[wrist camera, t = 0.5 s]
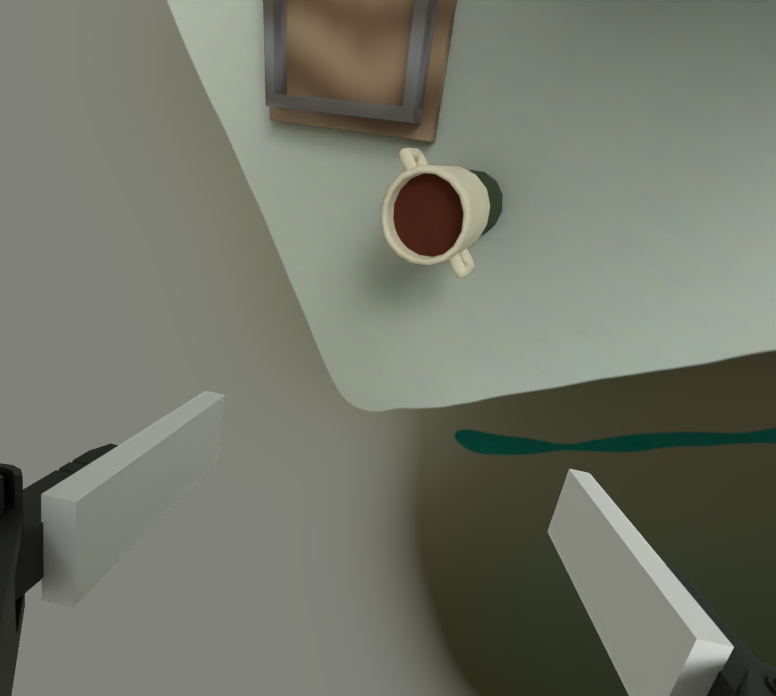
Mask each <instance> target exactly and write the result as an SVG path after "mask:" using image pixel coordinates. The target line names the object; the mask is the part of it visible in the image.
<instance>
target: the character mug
mask: <svg viewBox="0 0 776 696" xmlns="http://www.w3.org/2000/svg"><path fill="white" fill-rule="evenodd" d="M399 158H400V161H401V163H402V165H403V168H404V170H405V171H404V172H402V173H401V174H400V175H399V176H398V177H397V178H396V179H395V180H394V181H393V183H392V184H391V185H390V186H389V187H388V190H387V192H386V195H385V197H384V200H383V202H382V208H381V226H382V231H383V234H384V237H385V240H386V242H387V243H388V245H389V246H390V248H391V249H392V250H393V251H394V252H395V253H396V254H397V255H398V256H399V257H401V258H403V259H405V260H406V261H408V262H410V263H412V264H419V265H426V266H429V265H433V264H437V263H441V262H445V261H447V260H448V262H449V264H450V266H451V268H452V270H453V272H454V274H455V275H456V277H457V278H465V277H466V276H468V275H469V274H470V273H472V271H473V270H474V268H475V265H474V262H473V259H472V257H471V255H470V253H469V251H468V249H467V248H468V247H470V246H471V245H472V244H473V243H475V242H476V241H477V240H478V239H479V237H480V236H481V235H484V234H485V233H486V232H487V231H488V230H490V229H491V228H492V227H493V226H494V225H495V224H496V222H497V220H498V218H499V216H500V214H501V212H502V193H501V191H500V189H499V186H498V184H497V182H496V181H495V180H494V179H493V178H491V177H490V176H489V175H487V174H486V173H485V172H480V171H473V170H466V169H464V168H463V167H461V166H445V165H428V163H427V161H426V159H425V157H424V155H423V153H422V152H421V151H420V150H419V149H417V148H408V147H407V148H402V149H401V150H400V152H399Z"/></svg>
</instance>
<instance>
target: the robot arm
mask: <svg viewBox="0 0 776 696" xmlns="http://www.w3.org/2000/svg"><path fill="white" fill-rule="evenodd" d="M224 402H225V395H223V394H218V393H213V392H209V391H205V392H203V393H201V394H200V395H198V396H196V397H195V398H193V399H192V400H190V401H189V402H187V403H185V404H184V405H182V406H181V407H179V408H178V409H176V410H174V411H173V412H171V413H169V414H168V415H166V416H165V417H163V418H162V419H160V420H158V421H157V422H155V423H154V424H152V425H150V426H149V427H147V428H146V429H144V430H143V431H141V432H139V433H138V434H136V435H134V436H133V437H131V438H130V439H128V440H127V441H125V442H123V443H122V444H120V445H119V446H118V445H114V444H108V445H105V446H102V447H99V448H96V449H93V450H90V451H88V452H86V453H85V454H83V455H81V456H80V457H78V458H76V459H74V460H73V462H72V463H71V462H69V463H68V464H66V465H64V466H62V467H61V468H59V470H58V471H54V472H52V473H51V474H49V475H47V476H45V477H44V478H42V479H40V480H39V481H37V482H35V483H34V484H32V485H30V486H29V487H27V488H25V489H23V486H22V485H23V480H22V472H21V469H19V468H17V467H15V466H13V465H7V464H0V696H11V694H12V688H13V681H14V674H15V667H16V661H17V654H18V648H19V641H20V634H21V627H22V620H23V614H24V607H25V593H26V592H27V591H28V590H29V589H30V588H31V587H33V586H34V585H35V584H36V583H37V582H39V581H40V580H41V579H42V600H44V601H48V602H53V603H57V604H62V605H66V606H71V607H75V606H76V605H77V604H78V603H79V602H80V601H81V600H82V599H83V598H84V597H85V596H86V595H87V594H88V593H89V592H90V591H91V590H92V589H93V588H94V587H95V586H96V585H97V584H98V583H99V582H100V581H101V580H102V579H103V578H104V577H105V576H106V575H107V574H108V573H109V572H110V571H111V570H112V568H113V567H114V566H115V565H116V564H117V563H118V562H119V561H120V560H121V559H122V558H123V557H124V556H125V555H126V554H127V553H128V552H129V551H130V550H131V549H132V548H133V547H134V546H135V545H136V544H137V543H138V542H139V541H140V540H141V539H142V538H143V537H144V536H145V535H146V534H147V533H148V532H149V531H150V529H151V528H152V527H153V526H154V525H155V524H156V523H157V522H158V521H159V520H160V519H161V518H162V517H163V516H164V515H165V514H166V513H167V512H168V511H169V510H170V509H171V508H172V507H173V506H174V505H175V504H176V503H177V502H178V501H179V500H180V499H181V498H182V497H183V495H185V494H186V493H187V491H189V489H190V488H191V487H192V486H193V485H194V484H195V483H196V482H197V481H198V480H199V479H200V478H201V477H202V476H203V475H204V474H205V473H206V472H207V471H208V470H209V469H210V468H211V467H212V466H213V465H214V464H215V463H216V462H217V461H218V456H219V447H220V438H221V429H222V420H223V411H224ZM548 533H549V535H550V538H551V539H552V541H553V544H554V546H555V548H556V550H557V552H558V554H559V556H560V558H561V560H562V562H563V564H564V566H565V568H566V570H567V572H568V574H569V576H570V578H571V580H572V582H573V584H574V586H575V588H576V590H577V592H578V593H579V596H580V598H581V600H582V602H583V604H584V606H585V608H586V610H587V612H588V614H589V616H590V618H591V620H592V622H593V624H594V626H595V628H596V630H597V632H598V634H599V636H600V638H601V640H602V642H603V644H604V646H605V648H606V650H607V652H608V654H609V656H610V658H611V660H612V662H613V664H614V666H615V668H616V670H617V672H618V674H619V676H620V678H621V680H622V682H623V684H624V686H625V688H626V690H627V692H628V694H629V696H776V668H775V667H774V666H771V665H768V664H765V663H762V662H759V661H758V660H757V659H756V657H755V656H754V655H753V654H752V653H751V651H750V650H749V649H748V648H747V647H746V646H745V645H744V643H743V642H742V641H741V640H740V639H739V638H738V636H737V635H736V634H735V633H734V632H733V631H732V630H731V628H730V627H729V626H728V625H727V624H726V623H725V621H724V620H723V619H722V618H721V617H720V616H719V614H716V613H715V610H714V609H713V607H712V606H711V605H710V604H709V603H708V602H707V601H706V600H704V599H703V596H702V595H701V594H700V593H699V591H698V590H697V589H696V588H695V587H694V586H693V584H692V583H691V582H690V581H689V580H688V579H687V578H686V577H684V576H683V575H682V574H680V573H679V572H678V571H677V570H676V569H675V568H673V567H672V566H671V565H670V564H666V563H664V562H663V561H662V560H661V558H660V557H659V556H658V555H657V554H656V552H655V551H654V550H653V549H652V548H651V546H650V545H649V544H648V543H647V542H646V540H645V539H644V538H643V537H642V536H641V534H640V533H639V532H638V531H637V530H636V528H635V527H634V526H633V525H632V524H631V522H630V521H629V520H628V519H627V518H626V516H625V515H624V514H623V513H622V512H621V510H620V509H619V508H618V507H617V506H616V505H615V503H614V502H613V501H612V500H611V498H610V497H609V496H608V495H607V494H606V492H605V491H604V490H603V489H602V488H601V486H600V485H599V484H598V483H597V482H596V480H595V479H594V478H593V477H592V476H591V474H590V473H586V472H581V471H577V470H572V469H569V471H568V474H567V477H566V480H565V483H564V486H563V489H562V491H561V495H560V497H559V500H558V503H557V506H556V509H555V512H554V515H553V518H552V521H551V524H550V527H549V529H548Z"/></svg>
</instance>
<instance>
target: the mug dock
mask: <svg viewBox="0 0 776 696" xmlns="http://www.w3.org/2000/svg"><path fill="white" fill-rule="evenodd" d="M456 2H457V0H263V10H264V49H265V88H266V106H270V120H273V121H281V122H288V123H296V124H303V125H310V126H318V127H325V128H333V129H340V130H348V131H355V132H362V133H370V134H377V135H385V136H392V137H400V138H407V139H415V140H422V141H429V142H435V137H436V130H437V124H438V117H439V111H440V105H441V98H442V92H443V85H444V79H445V73H446V66H447V60H448V53H449V47H450V41H451V34H452V28H453V21H454V15H455V9H456Z"/></svg>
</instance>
